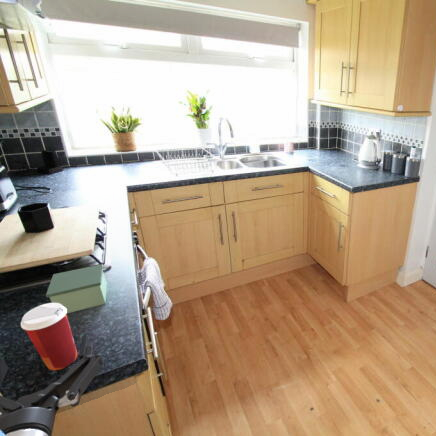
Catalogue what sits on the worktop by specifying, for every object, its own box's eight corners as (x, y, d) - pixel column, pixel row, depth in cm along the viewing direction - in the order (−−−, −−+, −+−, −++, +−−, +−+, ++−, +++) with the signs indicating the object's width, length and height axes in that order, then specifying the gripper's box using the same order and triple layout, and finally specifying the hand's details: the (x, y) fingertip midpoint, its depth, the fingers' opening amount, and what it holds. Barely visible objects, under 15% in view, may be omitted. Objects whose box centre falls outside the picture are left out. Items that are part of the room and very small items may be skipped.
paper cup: (89, 345, 78) (72, 299, 72) (72, 372, 71) (51, 323, 65) (53, 349, 77) (33, 302, 71) (32, 376, 70) (8, 327, 64)
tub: (54, 317, 86) (45, 295, 83) (61, 295, 95) (53, 274, 92) (107, 304, 92) (100, 282, 89) (108, 284, 101) (102, 263, 98)
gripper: (-87, 506, 45) (-29, 389, 62) (118, 422, 57) (120, 343, 74) (-115, 475, 42) (-46, 361, 59) (108, 393, 54) (112, 317, 71)
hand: (46, 350), depth 66 cm, fingers open, 13 cm apart
